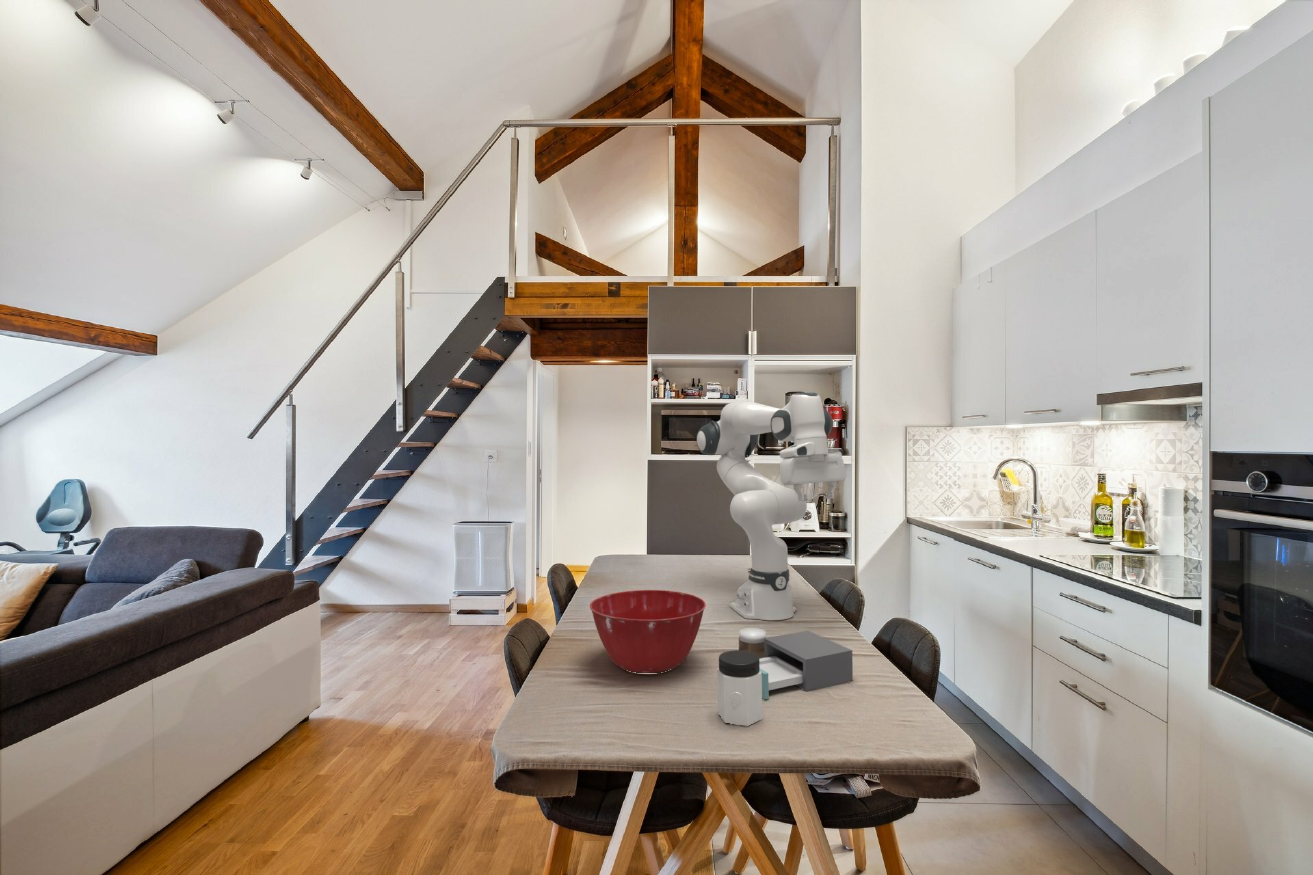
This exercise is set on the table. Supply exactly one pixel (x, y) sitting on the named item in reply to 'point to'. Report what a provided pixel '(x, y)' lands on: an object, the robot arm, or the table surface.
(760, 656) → the walnut block
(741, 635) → the disc
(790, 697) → the table surface
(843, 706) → the table surface
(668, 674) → the table surface
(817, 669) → the grey drawer box
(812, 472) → the robot arm
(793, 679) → the tray
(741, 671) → the jar
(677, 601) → the mixing bowl
